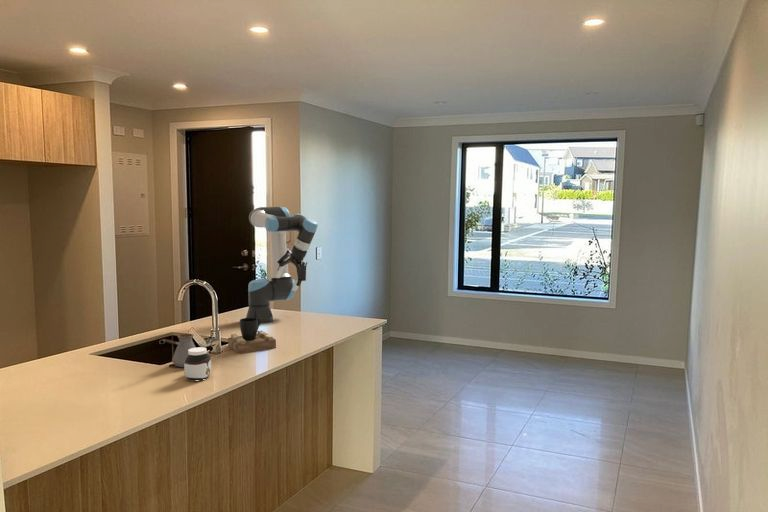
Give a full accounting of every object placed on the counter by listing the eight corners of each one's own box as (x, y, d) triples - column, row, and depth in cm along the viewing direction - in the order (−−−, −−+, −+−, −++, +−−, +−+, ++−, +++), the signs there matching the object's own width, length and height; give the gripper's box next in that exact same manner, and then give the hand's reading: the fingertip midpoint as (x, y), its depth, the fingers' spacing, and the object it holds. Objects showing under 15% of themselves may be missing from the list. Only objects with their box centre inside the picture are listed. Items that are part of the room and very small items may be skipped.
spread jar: (198, 383, 221) (197, 353, 220) (174, 380, 225) (172, 351, 224) (217, 374, 232) (216, 346, 231) (194, 371, 236) (193, 343, 235)
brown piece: (228, 346, 275) (228, 334, 274) (264, 340, 285) (264, 329, 284) (238, 353, 262) (238, 341, 262) (275, 347, 272) (275, 336, 271)
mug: (266, 336, 277) (266, 317, 276) (250, 342, 266) (250, 322, 265) (253, 334, 280) (252, 315, 279) (236, 340, 270) (236, 320, 269)
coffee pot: (183, 360, 251) (182, 326, 250) (206, 362, 248) (205, 328, 247) (150, 375, 231) (148, 338, 229) (175, 377, 228) (173, 340, 226)
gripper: (280, 236, 300) (265, 272, 306) (311, 259, 288) (296, 296, 293) (290, 237, 307) (276, 272, 312) (321, 259, 294) (306, 295, 299)
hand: (285, 284), depth 302 cm, fingers open, 13 cm apart
